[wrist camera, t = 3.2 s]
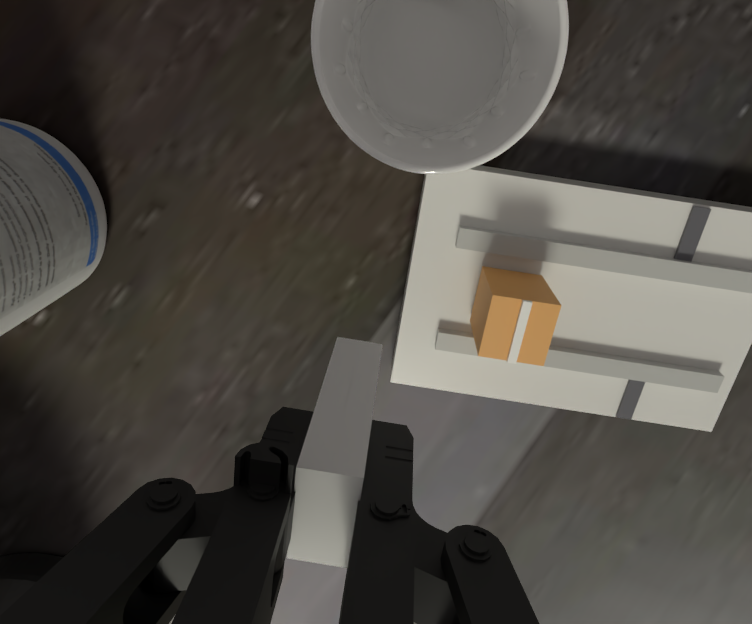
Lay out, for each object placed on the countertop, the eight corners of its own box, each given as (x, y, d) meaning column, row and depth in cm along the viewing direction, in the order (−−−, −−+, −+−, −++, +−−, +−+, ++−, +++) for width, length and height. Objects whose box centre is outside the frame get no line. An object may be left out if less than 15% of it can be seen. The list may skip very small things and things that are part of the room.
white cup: (482, 161, 28) (515, 201, 19) (330, 118, 28) (288, 138, 19) (539, -14, 25) (612, -67, 16) (369, -64, 25) (343, -148, 15)
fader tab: (469, 320, 29) (478, 358, 25) (482, 266, 28) (493, 296, 24) (527, 329, 29) (544, 368, 25) (541, 275, 28) (562, 307, 24)
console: (391, 365, 33) (389, 387, 30) (427, 157, 28) (428, 164, 26) (694, 411, 33) (716, 438, 30) (781, 211, 28) (815, 223, 26)
